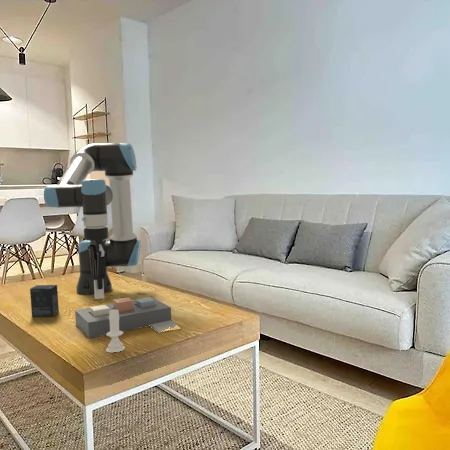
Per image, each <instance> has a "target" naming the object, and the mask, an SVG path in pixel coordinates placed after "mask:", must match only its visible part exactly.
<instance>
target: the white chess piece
mask: <svg viewBox="0 0 450 450" xmlns="http://www.w3.org/2000/svg"><path fill="white" fill-rule="evenodd" d="M109 320H110V332H108V333H107V334H106V335H105V336H107V337H110V342H109V343H108V345H107V347H106V349H105V351H106V352H107V353H109V354H112V353H113V352H117V353H120V351H121V352H123V351H124V350H125V349H126V346H124V345H123V343H122V342H121V341H120V338H119V337H120V336H122V335H123V334H124V331H123V332H122V331H119V311H118V310H116V309H113V310H110V311H109Z"/></svg>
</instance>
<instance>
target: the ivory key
mask: <svg viewBox="0 0 450 450" xmlns="http://www.w3.org/2000/svg"><path fill="white" fill-rule="evenodd" d="M106 305H107V304H100V305H95V306H90V307H89V308H90V314H91V315H92V316H93V317H95V316H101V315H106V314H109V311H110V308H108V307H107V306H106Z"/></svg>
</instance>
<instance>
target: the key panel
mask: <svg viewBox="0 0 450 450" xmlns="http://www.w3.org/2000/svg"><path fill="white" fill-rule="evenodd" d="M150 298H151V299H153V300H155V306H151V307H145V308H139V307H138V306H136V299H135V300H133V310H128V311H123V312H119V331H122V332H123V333H124V332H128V331H132V330H136V329H141V328H140V327H142V328H146V327H145V326H147V327H150V326H149V325H150V324H155V323H160V322H165V321H170V320H172V307H171V306H170V305H168V304H166V303H164V302H162V301H160V300H158V299H156V298H154V297H150ZM105 305H106V306H107V307H108V308H110V310H113V309H114V304H113V303H110V304H105ZM74 313H75V315H74V316H75V326H76V327H78V328H79V330H81V332H82V333H83V334H84V335H85V336H86V337H87V338H88V339H93V338H98V337H102V336H107V335H106V334H107V333H108V332H110V320H109V314H106V315H101V316H95V317H93V316H92V315H91V314H90V307H87V308H80V309H75V310H74Z"/></svg>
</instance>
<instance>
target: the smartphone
mask: <svg viewBox="0 0 450 450" xmlns="http://www.w3.org/2000/svg"><path fill="white" fill-rule="evenodd" d="M177 324H178V323H176V322H175V321H173V319H171V320H170V321H165V322H160V323H155V324H150V326H151V327H152V328H153V329H155V330H156V331H157V332H161V331H162V330H163V331H164V330H165V329H168V328H169V327H170V329H171V328H174V327H175V326H176V325H177ZM150 326H149V327H150ZM151 327H150V328H151ZM152 328H151V329H152ZM153 329H152V330H153ZM155 330H154V331H155ZM156 331H155V332H156ZM163 331H162V332H163ZM168 331H169V330H168ZM157 332H156V333H157ZM169 332H170V331H169Z"/></svg>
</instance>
